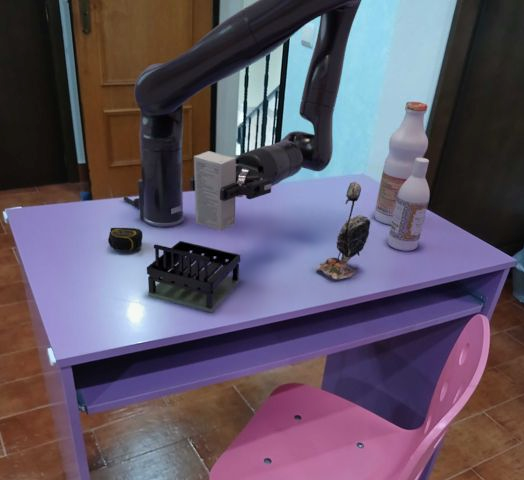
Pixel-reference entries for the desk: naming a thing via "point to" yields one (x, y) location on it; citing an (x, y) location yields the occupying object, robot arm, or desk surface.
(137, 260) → the desk surface
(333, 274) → the plant with pod
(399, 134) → the fruit juice
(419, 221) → the bath foam
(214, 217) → the cosmetic box
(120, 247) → the tape measure
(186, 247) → the dish rack
